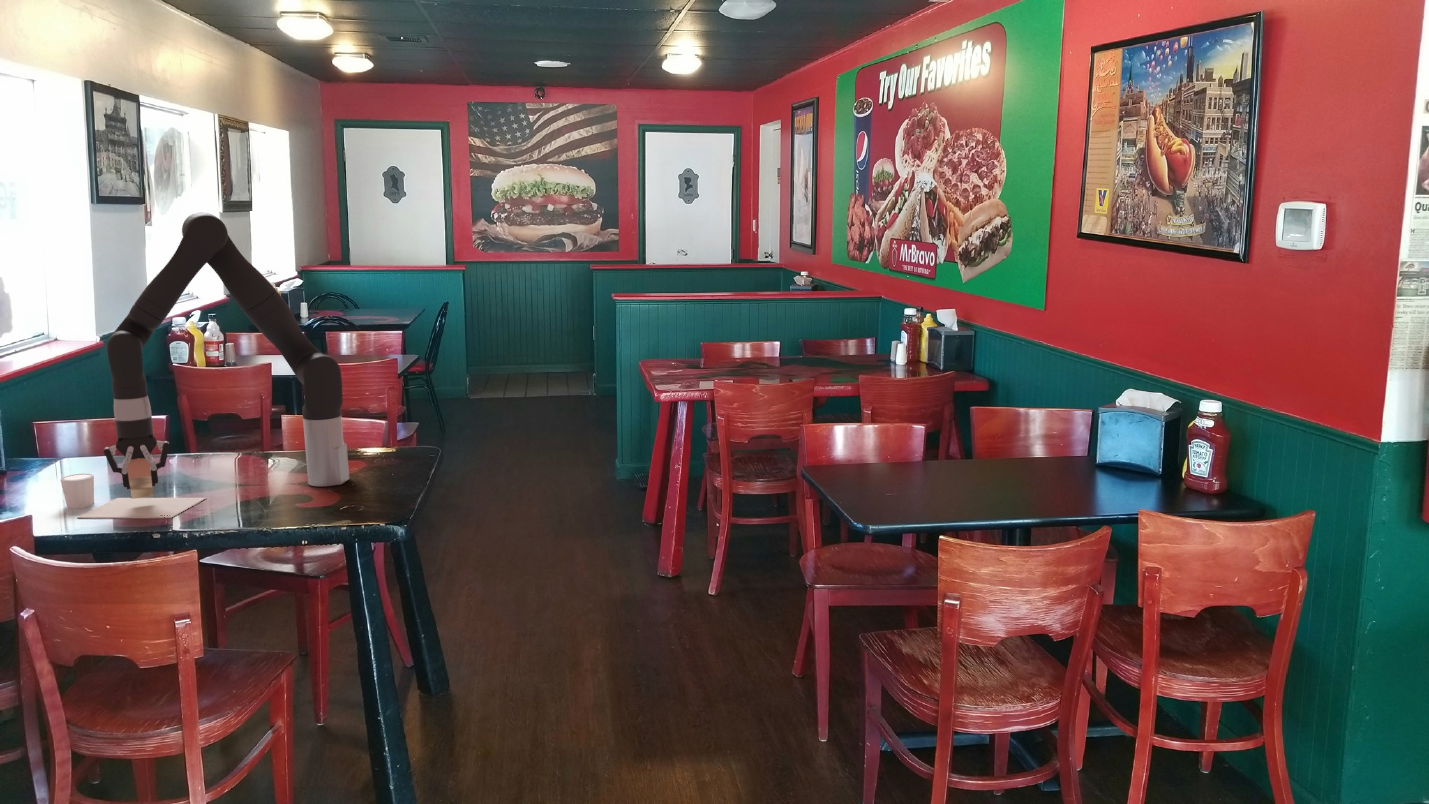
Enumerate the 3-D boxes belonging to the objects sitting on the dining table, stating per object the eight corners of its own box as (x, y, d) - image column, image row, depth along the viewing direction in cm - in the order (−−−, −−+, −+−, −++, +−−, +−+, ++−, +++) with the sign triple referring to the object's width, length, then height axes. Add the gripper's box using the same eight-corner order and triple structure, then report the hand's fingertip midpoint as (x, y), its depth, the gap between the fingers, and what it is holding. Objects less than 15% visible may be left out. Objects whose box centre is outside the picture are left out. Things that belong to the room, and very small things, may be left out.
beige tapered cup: (81, 509, 250) (78, 481, 248) (57, 508, 251) (53, 479, 250) (103, 501, 256) (100, 473, 255) (79, 500, 258) (76, 472, 256)
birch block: (151, 479, 256) (148, 457, 248) (153, 496, 253) (150, 474, 246) (130, 482, 254) (126, 460, 246) (131, 498, 251) (128, 476, 244)
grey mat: (206, 498, 258) (206, 497, 258) (171, 518, 242) (171, 517, 242) (117, 499, 258) (117, 497, 258) (77, 518, 243) (76, 517, 243)
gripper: (97, 422, 240) (106, 495, 243) (168, 415, 246) (175, 486, 250) (98, 416, 246) (106, 487, 249) (167, 410, 253) (174, 479, 256)
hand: (141, 486), depth 249 cm, fingers closed on birch block, 4 cm apart
